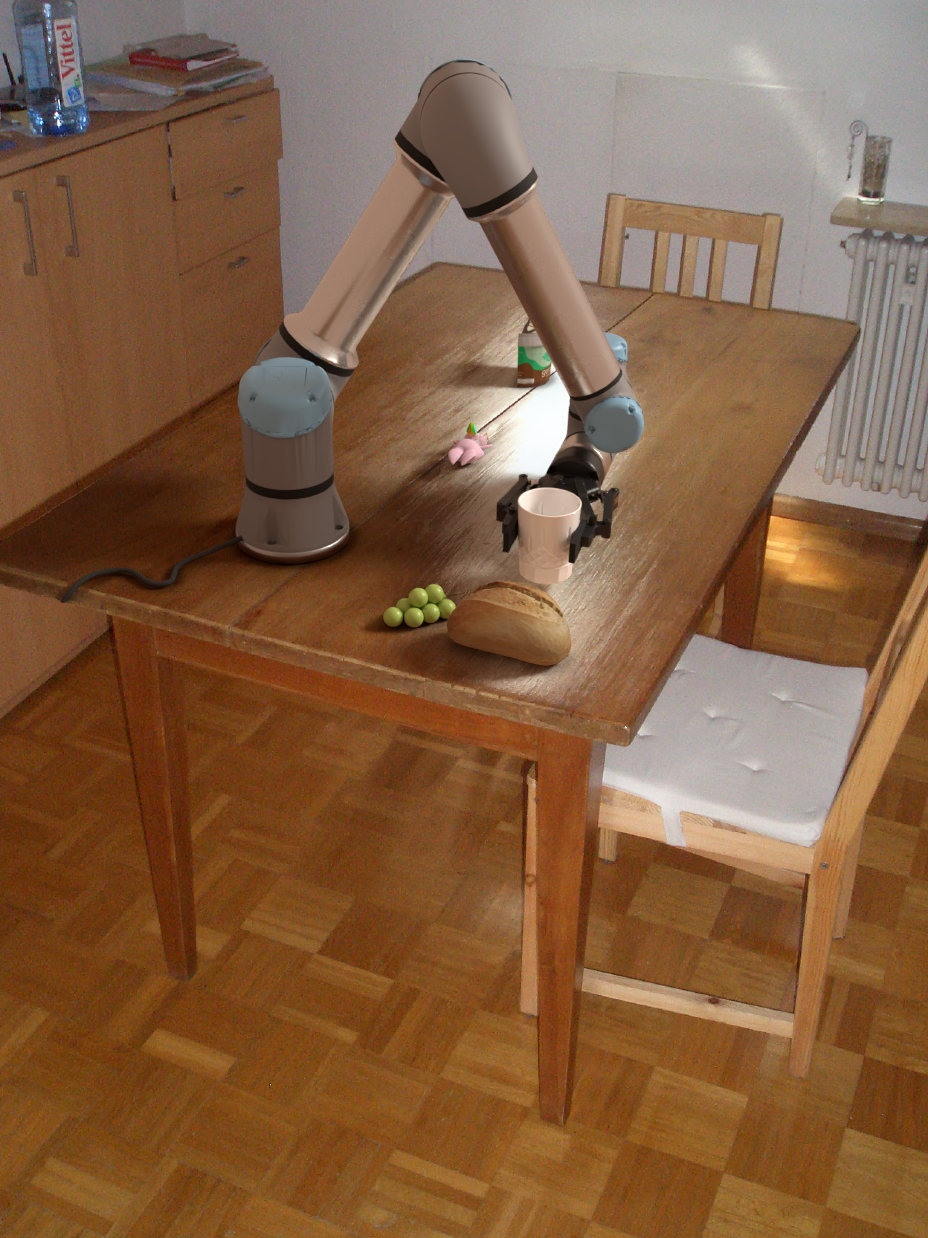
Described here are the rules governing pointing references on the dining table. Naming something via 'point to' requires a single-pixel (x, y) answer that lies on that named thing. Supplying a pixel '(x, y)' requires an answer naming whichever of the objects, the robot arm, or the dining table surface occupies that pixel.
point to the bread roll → (512, 623)
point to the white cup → (546, 533)
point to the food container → (532, 359)
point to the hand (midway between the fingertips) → (538, 548)
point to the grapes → (421, 607)
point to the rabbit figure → (469, 447)
